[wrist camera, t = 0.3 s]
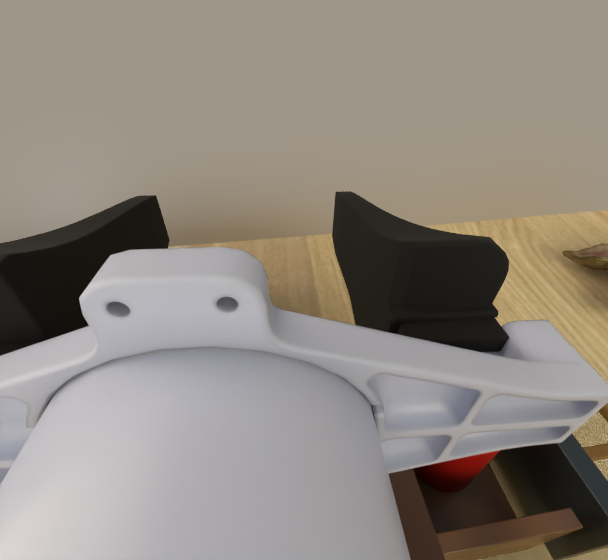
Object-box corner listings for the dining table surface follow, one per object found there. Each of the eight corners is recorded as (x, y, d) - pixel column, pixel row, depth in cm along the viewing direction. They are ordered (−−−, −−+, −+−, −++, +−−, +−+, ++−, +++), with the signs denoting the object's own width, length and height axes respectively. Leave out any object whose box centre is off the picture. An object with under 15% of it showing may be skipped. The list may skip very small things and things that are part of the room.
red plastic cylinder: (485, 486, 21) (541, 435, 15) (422, 498, 21) (455, 450, 15) (453, 421, 24) (490, 359, 19) (398, 431, 24) (418, 371, 18)
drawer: (517, 368, 28) (554, 317, 24) (646, 542, 19) (747, 516, 15) (341, 397, 28) (342, 350, 23) (388, 594, 18) (406, 584, 14)
